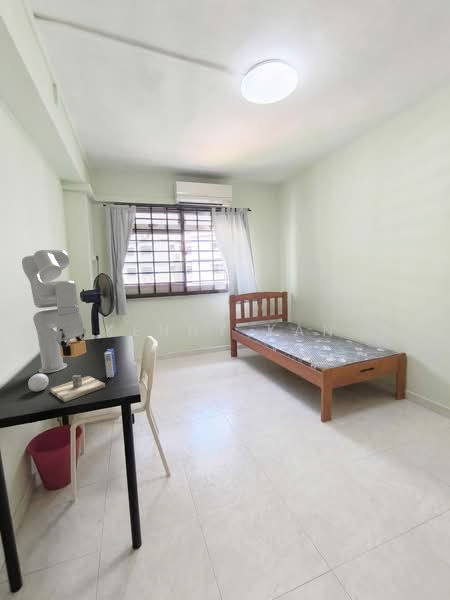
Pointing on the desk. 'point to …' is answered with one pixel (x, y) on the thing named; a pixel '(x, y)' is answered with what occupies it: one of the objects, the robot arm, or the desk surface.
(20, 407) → the desk surface
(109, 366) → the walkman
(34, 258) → the robot arm
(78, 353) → the orange block
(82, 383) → the board
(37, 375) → the white egg
